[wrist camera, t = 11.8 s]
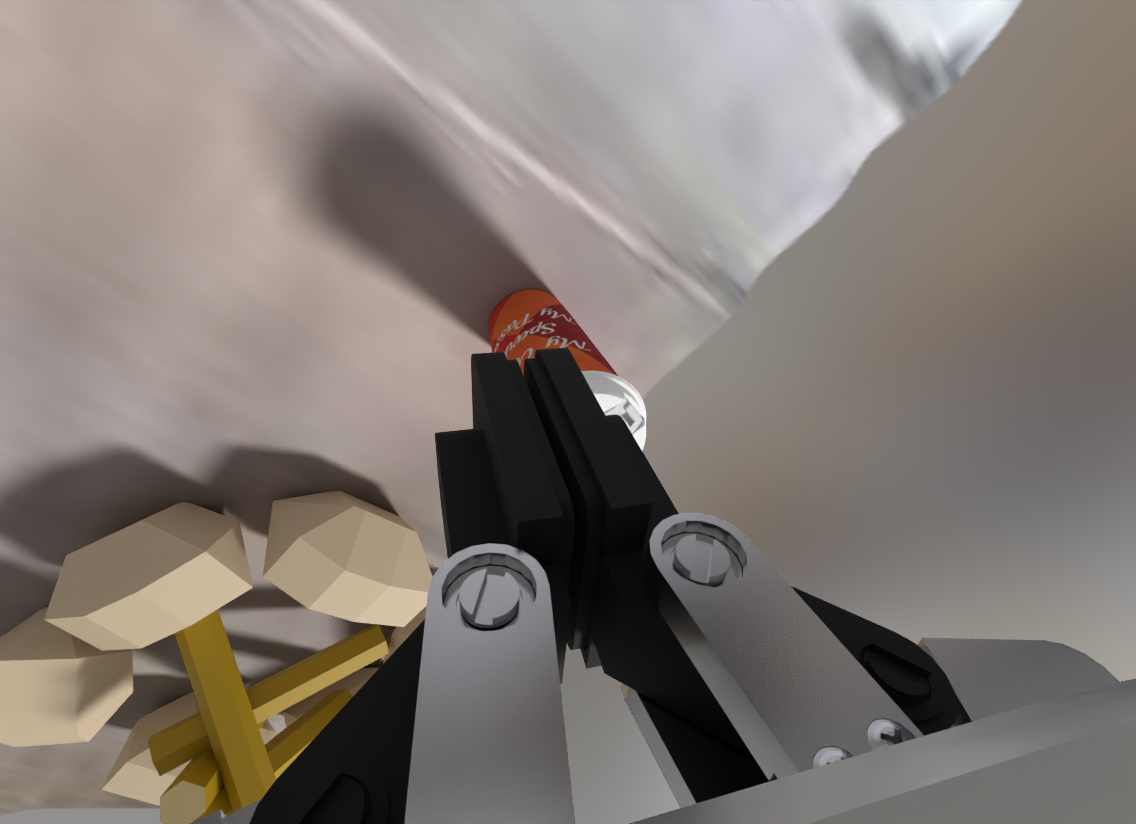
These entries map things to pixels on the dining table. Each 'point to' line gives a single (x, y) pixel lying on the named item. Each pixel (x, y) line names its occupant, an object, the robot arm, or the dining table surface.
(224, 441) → the dining table surface
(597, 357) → the paper cup
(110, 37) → the dining table surface
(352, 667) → the campfire
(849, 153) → the dining table surface
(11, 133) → the dining table surface
